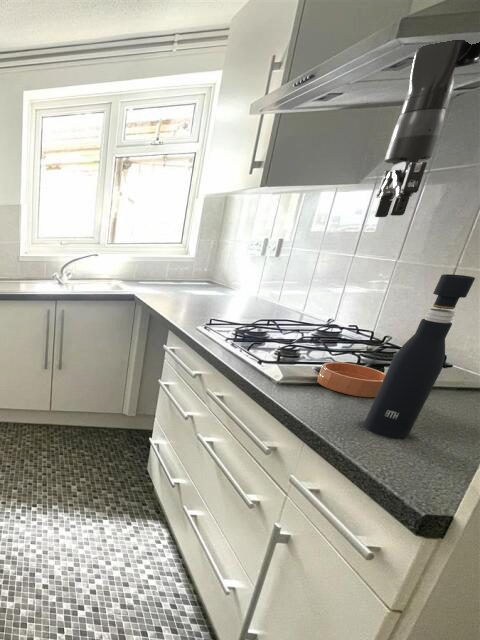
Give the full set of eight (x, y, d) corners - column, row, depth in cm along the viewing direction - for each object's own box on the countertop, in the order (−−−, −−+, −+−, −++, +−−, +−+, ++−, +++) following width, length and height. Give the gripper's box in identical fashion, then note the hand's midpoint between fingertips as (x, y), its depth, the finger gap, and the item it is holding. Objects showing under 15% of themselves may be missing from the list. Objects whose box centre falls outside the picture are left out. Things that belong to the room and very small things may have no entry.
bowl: (339, 376, 108) (345, 360, 106) (395, 395, 97) (403, 378, 95) (304, 381, 104) (310, 364, 102) (358, 402, 94) (366, 383, 92)
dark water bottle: (393, 426, 83) (467, 274, 71) (415, 442, 78) (499, 280, 66) (355, 421, 85) (421, 272, 73) (374, 437, 79) (448, 278, 67)
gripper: (456, 128, 84) (425, 215, 89) (421, 141, 96) (395, 217, 101) (407, 131, 87) (379, 215, 92) (378, 144, 99) (356, 217, 104)
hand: (388, 216), depth 97 cm, fingers open, 8 cm apart
